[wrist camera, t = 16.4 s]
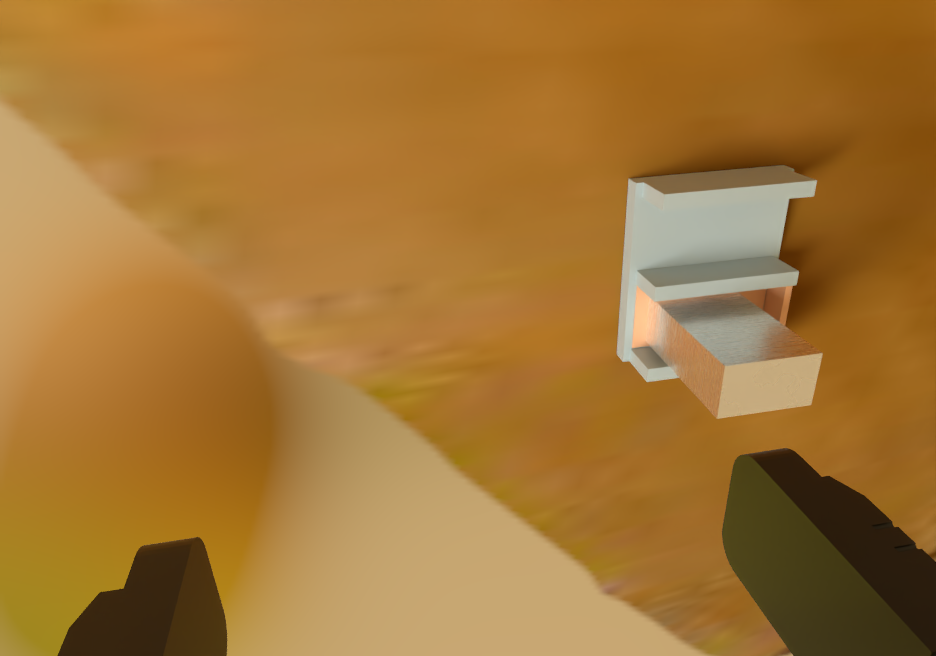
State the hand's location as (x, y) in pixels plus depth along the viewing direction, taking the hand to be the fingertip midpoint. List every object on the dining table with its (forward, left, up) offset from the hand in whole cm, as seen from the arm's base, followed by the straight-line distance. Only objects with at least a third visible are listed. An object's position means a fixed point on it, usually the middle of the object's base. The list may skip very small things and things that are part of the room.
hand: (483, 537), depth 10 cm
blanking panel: (+1, +25, -32) cm, 40 cm away
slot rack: (-2, +24, -33) cm, 41 cm away
